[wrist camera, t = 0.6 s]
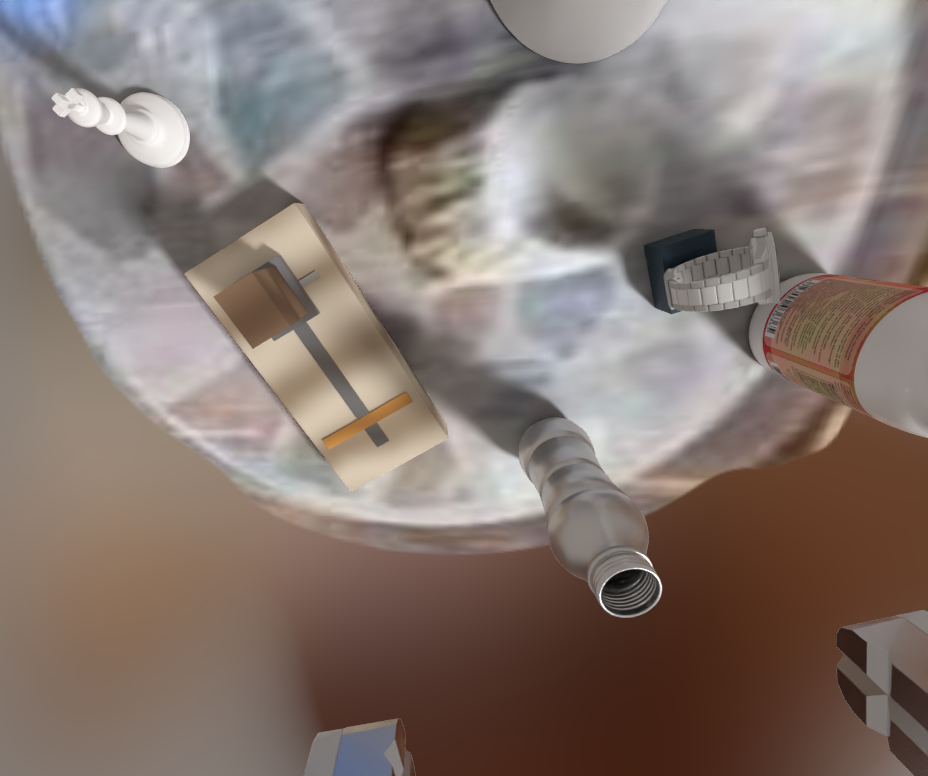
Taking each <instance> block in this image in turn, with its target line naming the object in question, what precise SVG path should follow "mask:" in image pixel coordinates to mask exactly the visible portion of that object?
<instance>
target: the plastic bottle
mask: <svg viewBox="0 0 928 776" xmlns="http://www.w3.org/2000/svg"><path fill="white" fill-rule="evenodd" d="M519 461H520V465H521V467H522V469H523V471H524V472H525V474H526V475H527V477H528V478H529V480H530V481H531V482H532V483H533V484H534V486H535V488H536V489H537V491H538V493H539V495H540V497H541V500H542V504H543V507H544V511H545V514H546V522H547V529H548V538H549V542H550V546H551V549H552V552H553V554H554V556H555V557H556V559H557V560H558V561H559V562H560V564H562V565H563V567H564V568H565V569H566V570H568V571H569V572H570V573H571V574H573V575H575V576H576V577H579V578H581V579H583V580H586V581H587V582H588V584H589V587H590V589H591V590H592V592H593V593H594V594H595V595H596V597H597V600H598V602H599V604H600V605H601V607H602V608H603V609H604V610H605V611H606V612H607V613H610V614H611V615H613V616H616V617H622V618H629V617H635V616H638V615H641V614H643V613H645V612H647V611H649V610H650V609H651V608H652V607H654V606H655V605H656V603H657V602H658V600H659V599H660V596H661V593H662V584H661V581H660V578H659V576H658V575H657V573H656V572H655V570H654V569H653V566H652V563H651V561H650V560H649V558H648V557H647V555H646V551H647V546H648V541H649V537H648V529H647V524H646V521H645V517H644V515H643V514H642V512H641V510H640V509H639V508H638V507H637V506H636V504H635V503H634V502H633V501H632V500H631V499H630V498H629V497H628V496H627V495H626V494H625V493H624V492H622V491H621V490H620V489H619V488H618V487H617V486H616V485H615V484H614V483H613V482H612V481H611V480H610V478H609V477H608V476H607V475H606V474H605V472H604V471H603V470H602V468H601V466H600V464H599V462H598V460H597V458H596V456H595V451H594V448H593V445H592V443H591V440H590V438H589V436H588V435H587V433H586V432H585V431H584V430H583V429H582V428H580V427H579V426H578V425H576V424H575V423H573V422H572V421H570V420H567V419H564V418H560V417H551V418H545V419H542V420H539V421H538V422H536V423H534V424H533V425H531V426H530V427H529V428H528V429H527V430H526V431H525V432H524V434H523V436H522V438H521V440H520V444H519Z"/></svg>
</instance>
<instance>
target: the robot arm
mask: <svg viewBox="0 0 928 776" xmlns="http://www.w3.org/2000/svg"><path fill="white" fill-rule="evenodd" d="M490 1H491V3H492V5H493V7H494V9H495V11H496V12H497V14H498V16H499V17H500V19H501V20H502V22H503V23H504V25H505V26H506V27H507V28H508V30H509V31H510V32H511V33H512V34H513V35H514V36H515V37H516V38H517V39H518V40H519V41H520V42H521V43H522V44H524V45H525V46H526V47H528V48H529V49H531V50H532V51H534V52H536V53H537V54H539V55H541V56H544V57H546V58H549V59H552V60H555V61H559V62H565V63H589V62H594V61H598V60H602V59H605V58H607V57H610V56H612V55H614V54H616V53H618V52H620V51H622V50H623V49H625V48H626V47H628V46H629V45H631V44H632V43H633V42H635V41H636V40H637V39H638V38H639V37H640V36H641V35H642V34H643V33H644V32H645V31H646V30H647V29H648V28H649V27H650V26H651V24H652V23H653V22H654V20H655V19H656V18H657V16H658V15H659V13H660V12H661V10H662V9H663V7H664V6H665V4H666V3H667V1H668V0H490ZM836 646H837V647H838V648H839V649H840V650H841V651H842V652H843V653H844V656H843V658H842V659H841V660H840V662H839V664H838V665H837V682H838V685H839V687H840V689H841V692H842V694H843V696H844V699H845V701H846V702H847V703H848V705H849V706H850V708H851V709H852V711H853V712H854V713H855V714H856V715H857V717H858V718H859V719H860V720H861V721H862V722H863V723H864V724H865V725H866V726H867V727H869V728H871V729H873V730H875V731H877V732H879V733H881V734H883V735H885V736H887V738H888V743H889V748H890V751H891V752H892V753H893V754H894V755H895V756H896V758H897V759H898V760H899V761H900V762H901V763H902V764H903V765H904V766H905V767H906V768H907V769H908V770H909V771H910V772H911V773H912V774H913V775H914V776H928V612H927V611H924V610H921V611H916V612H911V613H907V614H902V615H897V616H894V617H888V618H883V619H879V620H874V621H869V622H864V623H860V624H855V625H851V626H846V627H842V628H840V629H839V631H838V633H837V634H836ZM405 737H406V733H405V730H404V727H403V723H402V720H401V719H392V720H387V721H381V722H375V723H369V724H364V725H358V726H352V727H347V728H344V729H339V730H333V731H327V732H321V733H318V734H317V736H316V738H315V739H314V741H313V743H312V746H311V750H310V754H309V757H308V761H307V765H306V769H305V772H304V776H416V775H415V769H414V763H413V759H412V756H411V753H409V752H408V751H407V750H405Z"/></svg>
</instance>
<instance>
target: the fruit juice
mask: <svg viewBox="0 0 928 776" xmlns="http://www.w3.org/2000/svg"><path fill="white" fill-rule="evenodd" d="M780 288H781V293H780V302H779V304H775V303H772V304H766V305H759V304H758V306H757V308H756V309H755V311H754V313H753V316H752V319H751V322H750V327H749V343H750V347H751V350H752V353H753V355H754V356H755V358H756V359H757V361H758V362H759V363H760V364H761V365H762V366H763V367H764V368H766V369H767V370H769V371H770V372H772V373H773V374H775V375H778V376H780V377H782V378H784V379H787V380H789V381H791V382H793V383H796V384H798V385H800V386H803V387H805V388H807V389H809V390H812V391H814V392H816V393H818V394H821V395H823V396H825V397H827V398H830V399H832V400H834V401H836V402H839V403H841V404H843V405H846V406H848V407H850V408H852V409H855V410H857V411H859V412H861V413H864V414H866V415H869V416H870V417H873V418H875V419H877V420H879V421H881V422H883V423H886V424H888V425H890V426H893V427H895V428H898V429H901V430H903V431H907V432H910V433H912V434H916V435H919V436H923V437H927V438H928V287H922V286H915V285H908V284H900V283H892V282H885V281H877V280H870V279H862V278H855V277H847V276H839V275H832V274H824V273H810V274H803V275H798V276H795V277H792V278H789V279H787V280H785V281H783V282H781V283H780Z"/></svg>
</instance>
